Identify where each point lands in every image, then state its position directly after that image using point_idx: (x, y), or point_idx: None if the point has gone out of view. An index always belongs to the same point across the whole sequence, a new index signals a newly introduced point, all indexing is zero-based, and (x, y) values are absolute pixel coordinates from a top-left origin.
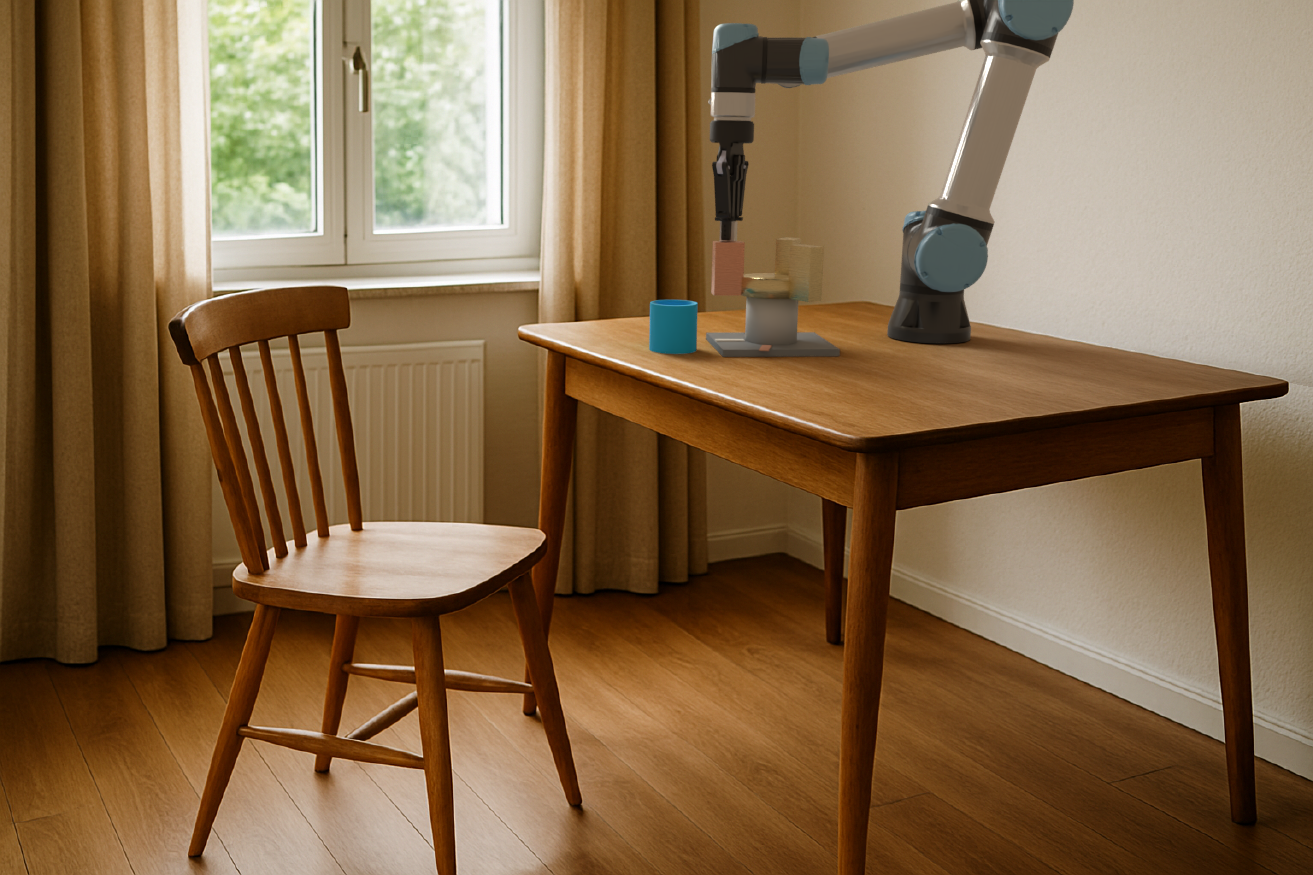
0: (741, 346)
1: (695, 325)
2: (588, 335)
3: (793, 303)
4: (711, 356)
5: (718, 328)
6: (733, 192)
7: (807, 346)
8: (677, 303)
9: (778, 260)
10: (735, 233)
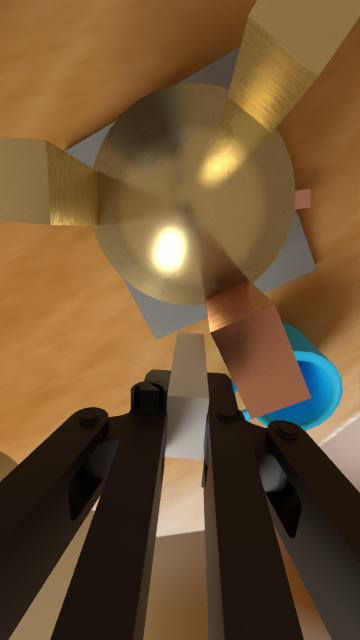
0: None
1: (289, 336)
2: (195, 480)
3: None
4: (311, 286)
5: (44, 345)
6: (272, 562)
7: None
8: None
9: (82, 213)
10: (193, 371)
